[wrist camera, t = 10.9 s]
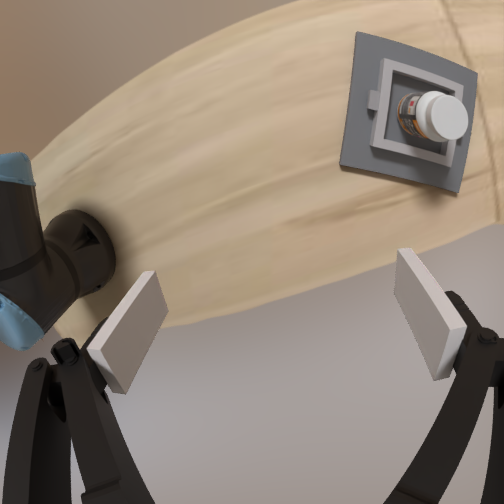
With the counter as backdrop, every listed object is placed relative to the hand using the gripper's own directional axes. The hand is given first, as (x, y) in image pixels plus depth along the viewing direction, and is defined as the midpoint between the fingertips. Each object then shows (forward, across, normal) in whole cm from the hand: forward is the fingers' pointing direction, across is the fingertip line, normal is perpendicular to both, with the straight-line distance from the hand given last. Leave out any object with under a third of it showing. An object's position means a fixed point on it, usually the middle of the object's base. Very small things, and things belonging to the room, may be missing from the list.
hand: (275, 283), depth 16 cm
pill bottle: (+25, +18, +8) cm, 32 cm away
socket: (+26, +19, +8) cm, 33 cm away
